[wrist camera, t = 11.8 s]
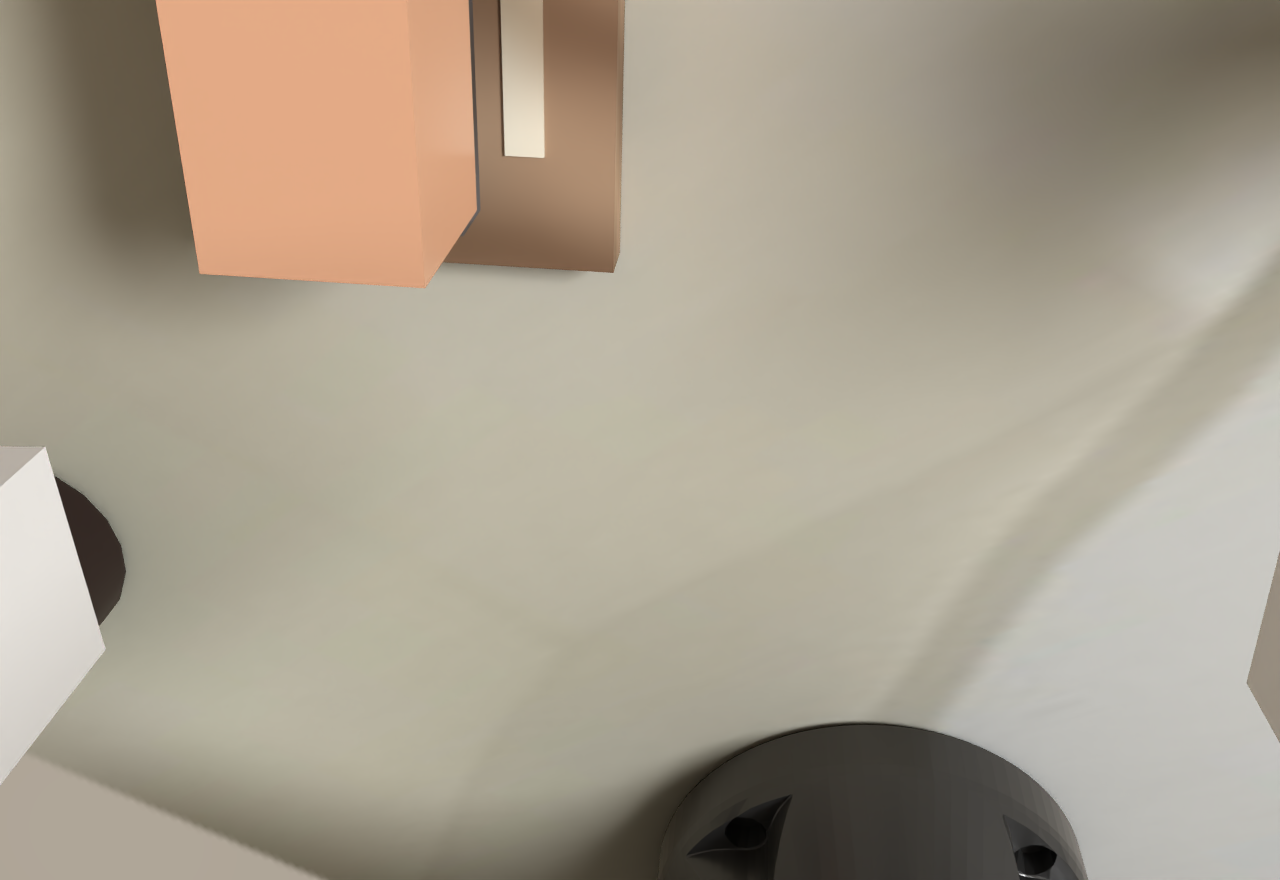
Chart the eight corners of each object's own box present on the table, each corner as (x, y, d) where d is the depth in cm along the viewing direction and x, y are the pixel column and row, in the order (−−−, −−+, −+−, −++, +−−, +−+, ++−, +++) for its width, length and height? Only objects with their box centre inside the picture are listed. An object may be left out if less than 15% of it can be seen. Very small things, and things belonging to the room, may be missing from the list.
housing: (476, 210, 29) (425, 287, 25) (283, 198, 30) (199, 273, 25) (459, -223, 25) (393, -221, 20) (232, -231, 25) (118, -230, 21)
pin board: (619, 252, 33) (588, 353, 27) (230, 229, 34) (122, 321, 28) (630, -303, 27) (593, -321, 21) (151, -317, 27) (-10, -337, 22)
